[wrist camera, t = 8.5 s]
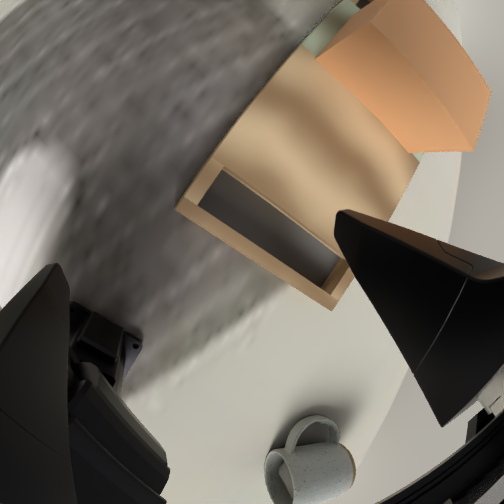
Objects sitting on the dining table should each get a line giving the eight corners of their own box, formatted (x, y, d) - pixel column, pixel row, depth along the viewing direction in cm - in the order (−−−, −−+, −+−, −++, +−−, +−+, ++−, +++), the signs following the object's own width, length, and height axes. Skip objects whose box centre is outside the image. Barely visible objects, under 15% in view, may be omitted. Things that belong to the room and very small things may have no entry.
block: (408, 153, 22) (473, 151, 16) (314, 59, 19) (370, 22, 12) (433, 101, 22) (491, 92, 16) (353, 14, 18) (404, -20, 12)
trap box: (320, 302, 25) (331, 311, 23) (174, 207, 20) (175, 209, 18) (444, 80, 24) (457, 77, 23) (356, -14, 20) (366, -22, 18)
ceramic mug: (320, 465, 31) (347, 505, 24) (259, 477, 29) (281, 524, 21) (344, 405, 29) (382, 447, 22) (275, 416, 27) (306, 469, 20)
